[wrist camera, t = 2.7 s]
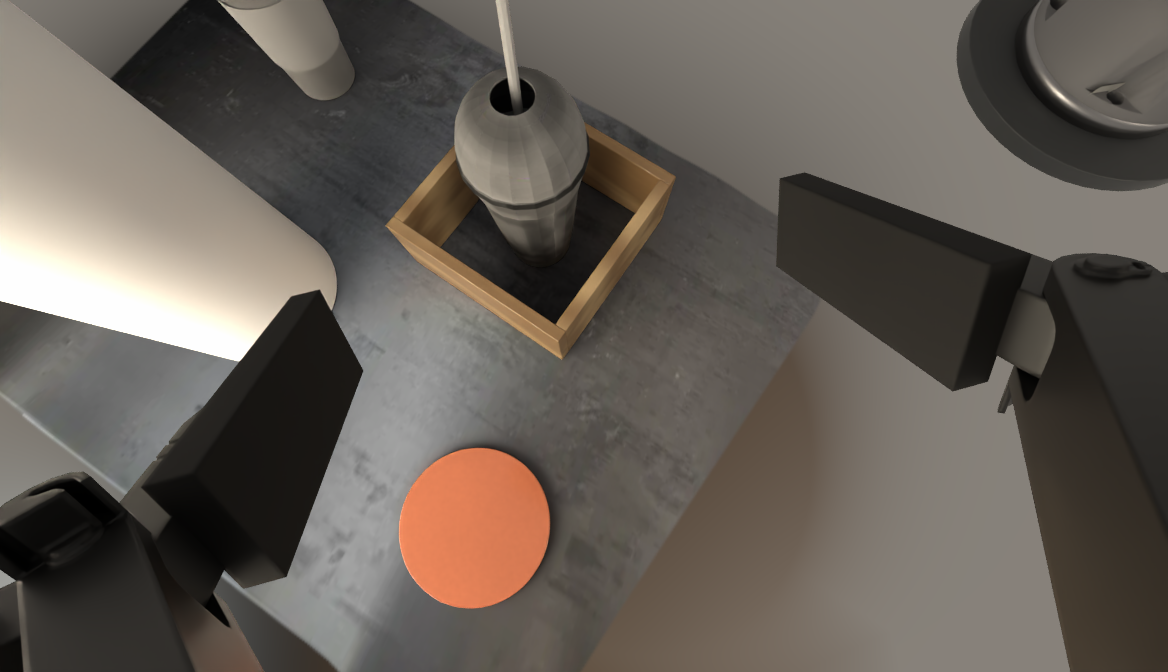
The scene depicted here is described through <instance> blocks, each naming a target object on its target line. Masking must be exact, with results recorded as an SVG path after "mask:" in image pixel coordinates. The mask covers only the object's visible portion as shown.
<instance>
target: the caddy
mask: <svg viewBox="0 0 1168 672" xmlns="http://www.w3.org/2000/svg"><path fill="white" fill-rule="evenodd" d="M584 124H585V129H586V131H587V134H588V136H589V149H590V157H589V160H588V164H587V167H586V171H585V174H584V175H583V177H582V181H583V182H585V183H587V184H588V185H590V186H592V187H593V188H595V189H596V190H598V191H600V192H601V193H603V194H605V195H606V196H608V197H609V198H611V199H613V200H614V201H616V202H618V203H619V204H621V205H622V206H624V207H626V208H627V209H629V210H631V211H632V212H634V213H635V215H634V216H633V217H632V219H631V220H630V222H629V223H628V224H627V226H626V227H625V229H624V230H623V231H622V233H621V234H620V235H619V237H618V238H617V240H616V241H615V242H614V244H613V245H612V247H611V248H610V249H609V251H608V252H607V253H606V255H605V256H604V258H603V259H602V260H601V262H600V263H599V265H598V266H597V267H596V269H595V270H594V271H593V273H592V274H591V276H590V277H589V278H588V280H587V281H586V283H585V284H584V285H583V287H582V288H581V289H580V291H579V292H578V294H577V295H576V296H575V298H574V299H573V301H572V302H571V303H570V305H569V306H568V307H567V309H566V310H565V312H564V313H563V314H562V316H561V317H560V319H559V320H558V321H557V323H556V325H555V324H554V323H552V322H551V321H549V320H548V319H546V318H545V317H543V316H542V315H540V314H539V313H537V312H536V311H534V310H533V309H531V308H530V307H528V306H527V305H525V304H524V303H522V302H521V301H519V300H518V299H516V298H515V297H513V296H512V295H510V294H509V293H507V292H506V291H504V290H503V289H501V288H500V287H498V286H497V285H495V284H494V283H492V282H491V281H489V280H488V279H486V278H485V277H483V276H482V275H480V274H479V273H477V272H476V271H474V270H473V269H471V268H470V267H468V266H467V265H465V264H464V263H462V262H461V261H459V260H458V259H456V258H455V257H453V256H452V255H450V254H449V253H447V252H446V251H444V250H443V249H442V248H440V247H441V246H442V245H443V243H444V242H445V241H446V240H447V238H448V237H449V236H450V235H451V234H452V232H453V231H454V230H455V229H456V227H457V226H458V225H459V224H460V222H461V221H462V220H463V219H464V218H465V216H466V215H467V214H468V213H469V211H470V210H471V209H472V208H473V207H474V205H475V204H476V203H477V202H478V200H479V199H480V198H479V197H478V196H477V195H475V194H474V193H473V191H472V190H471V189H470V188H469V187H468V186H467V184H466V183H465V182H464V181H463V180H462V177H461V174H460V171H459V169H458V166H457V163H456V152H455V145H454V146H453V147H452V148H451V149H450V150H449V152H448V153H447V154H446V155H445V156H444V158H443V159H442V160H441V161H440V162H439V163H438V165H437V166H436V167H435V168H434V169H433V170H432V172H431V173H430V174H429V175H428V176H427V177H426V179H425V180H424V181H423V182H422V183H421V184H420V186H419V187H418V188H417V189H416V190H415V192H414V193H413V194H412V195H411V196H410V197H409V199H408V200H407V201H406V202H405V203H404V204H403V206H402V207H401V208H400V209H399V210H398V211H397V213H396V214H395V215H394V217H392V218H391V220H390V221H389V222H388V223H387V224H386V227H387V228H388V229H389V230H390V231H391V232H392V233H393V235H394V236H395V237H396V238H397V239H398V240H399V241H400V243H401V244H402V245H403V246H404V247H405V248H406V249H407V250H408V252H409V253H410V254H411V255H412V256H413V257H414V258H415V260H416V261H417V262H419V263H420V264H422V265H423V266H425V267H426V268H428V269H429V270H430V271H432V272H433V273H435V274H436V275H438V276H439V277H441V278H442V279H444V280H445V281H447V282H448V283H450V284H451V285H453V286H454V287H456V288H457V289H458V290H460V291H461V292H463V293H464V294H466V295H467V296H469V297H470V298H472V299H473V300H475V301H476V302H478V303H479V304H481V305H482V306H484V307H485V308H486V309H488V310H489V311H491V312H492V313H494V314H495V315H497V316H498V317H500V318H501V319H503V320H504V321H506V322H507V323H509V324H510V325H512V326H513V327H515V328H516V329H517V330H519V331H520V332H522V333H523V334H525V335H526V336H528V337H529V338H531V339H532V340H534V341H535V342H537V343H538V344H540V345H541V346H543V347H544V348H545V349H547V350H548V351H550V352H551V353H553V354H554V355H556V356H557V357H559V358H560V359H563V358H564V357H565V356H566V354H567V353H568V351H569V350H570V349H571V347H572V346H573V344H574V343H575V341H576V340H577V339H578V337H579V336H580V334H581V333H582V332H583V330H584V329H585V327H586V326H587V324H588V323H589V322H590V320H591V319H592V317H593V316H594V314H595V313H596V312H597V310H598V309H599V307H600V306H601V305H602V303H603V302H604V300H605V299H606V297H607V296H608V295H609V293H610V292H611V290H612V289H613V288H614V286H615V285H616V283H617V282H618V280H619V279H620V278H621V276H622V275H623V273H624V272H625V271H626V269H627V268H628V266H629V265H630V263H631V262H632V261H633V259H634V258H635V256H636V255H637V254H638V252H639V251H640V249H641V248H642V246H643V245H644V244H645V242H646V241H647V239H648V238H649V237H650V235H651V234H652V232H653V231H654V229H655V228H656V226H657V225H658V224H659V222H660V221H661V219H662V216H663V213H664V211H665V208H666V205H667V202H668V199H669V196H670V193H671V190H672V187H673V184H674V181H675V178H676V177H675V176H674V175H672V174H671V173H669V172H667V171H666V170H664V169H662V168H661V167H659V166H657V165H656V164H654V163H652V162H650V161H649V160H647V159H645V158H644V157H642V156H640V155H639V154H637V153H635V152H634V151H632V150H630V149H629V148H627V147H625V146H624V145H622V144H620V143H619V142H617V141H615V140H614V139H612V138H610V137H608V136H607V135H605V134H603V133H602V132H600V131H598V130H597V129H595V128H593V127H592V126H590V125H588V124H587V123H585V122H584Z"/></svg>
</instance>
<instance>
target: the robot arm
mask: <svg viewBox="0 0 1168 672" xmlns="http://www.w3.org/2000/svg"><path fill="white" fill-rule="evenodd" d="M1015 51H1016V58H1017V62H1018V66H1019V68H1020V71H1021V74H1022V76H1023V78H1024V80H1025V81H1026V83H1027V85H1028V86H1029V88H1030V89H1031V90H1032V92H1033V93H1034V94H1035V95H1036V97H1037V98H1038V99H1039V100H1040V101H1041V102H1042V103H1043V104H1044V105H1045V106H1046V107H1047V108H1049V109H1050V110H1051V111H1052V112H1054V113H1055V114H1056V115H1058V116H1059V117H1061V118H1062V119H1064V120H1065V121H1067V122H1069V123H1070V124H1072V125H1074V126H1076V127H1078V128H1081V129H1083V130H1086V131H1088V132H1091V133H1094V134H1097V135H1102V136H1106V137H1111V138H1119V139H1139V138H1146V137H1151V136H1155V135H1158V134H1161V133H1163V132H1165V131H1167V130H1168V0H1040V1H1039V2H1038V3H1037V4H1036V5H1035V6H1034V7H1033V8H1032V9H1031V10H1030V11H1029V12H1028V13H1027V14H1026V15H1025V17H1024V18H1023V20H1022V22H1021V24H1020V26H1019V28H1018V31H1017V35H1016V42H1015ZM776 266H777V267H778V268H780V269H781V270H783V271H784V272H785V273H787V274H788V275H790V276H791V277H792V278H794V279H795V280H797V281H798V282H799V283H801V284H802V285H804V286H805V287H807V288H808V289H809V290H811V291H812V292H814V293H815V294H816V295H818V296H819V297H821V298H822V299H823V300H825V301H826V302H828V303H829V304H830V305H832V306H833V307H835V308H836V309H837V310H839V311H840V312H842V313H843V314H844V315H846V316H847V317H849V318H850V319H852V320H853V321H855V322H856V323H857V324H859V325H860V326H861V327H863V328H864V329H866V330H867V331H868V332H870V333H871V334H873V335H874V336H875V337H877V338H878V339H880V340H881V341H882V342H884V343H885V344H887V345H888V346H890V347H891V348H893V349H894V350H895V351H897V352H898V353H900V354H901V355H902V356H904V357H905V358H906V359H908V360H909V361H911V362H912V363H914V364H915V365H916V366H918V367H919V368H920V369H922V370H923V371H925V372H926V373H927V374H929V375H930V376H932V377H933V378H935V379H936V380H937V381H939V382H940V383H942V384H943V385H945V386H946V387H947V388H949V389H950V390H951V391H956V390H959V389H963V388H966V387H970V386H974V385H977V384H981V383H984V382H987V381H988V380H989V377H990V374H991V371H992V368H993V365H994V362H995V360H996V357H997V356H999V357H1001V358H1003V359H1004V360H1006V361H1008V362H1010V363H1011V364H1013V365H1014V367H1013V370H1012V372H1011V375H1010V377H1009V380H1008V383H1007V385H1006V388H1005V391H1004V394H1003V396H1002V399H1001V401H1000V404H999V407H998V412H999V413H1005V411H1006V409H1007V406H1009V405H1011V404H1013V406H1014V410H1015V415H1016V420H1017V424H1018V429H1019V433H1020V438H1021V443H1022V448H1023V452H1024V457H1025V462H1026V466H1027V471H1028V476H1029V480H1030V485H1031V490H1032V494H1033V499H1034V503H1035V508H1036V513H1037V518H1038V522H1039V527H1040V532H1041V536H1042V541H1043V546H1044V550H1045V555H1046V560H1047V565H1048V569H1049V574H1050V578H1051V583H1052V588H1053V592H1054V597H1055V601H1056V606H1057V611H1058V616H1059V621H1060V625H1061V630H1062V635H1063V639H1064V644H1065V649H1066V653H1067V658H1068V663H1069V667H1070V672H1168V272H1166V273H1161V272H1160V271H1158V270H1157V269H1155V268H1154V267H1153V266H1151V265H1149V264H1147V263H1146V262H1143V261H1138V260H1135V259H1131V258H1126V257H1121V256H1117V255H1109V254H1096V253H1090V254H1073V255H1067V256H1063V257H1060V258H1058V259H1056V260H1055V261H1053V262H1052V261H1049V260H1047V259H1044V258H1041V257H1038V256H1035V255H1033V254H1030V253H1027V252H1025V251H1022V250H1019V249H1016V248H1014V247H1011V246H1008V245H1005V244H1002V243H1000V242H997V241H994V240H991V239H988V238H985V237H983V236H980V235H977V234H975V233H971V232H969V231H966V230H963V229H961V228H958V227H955V226H952V225H950V224H947V223H944V222H941V221H938V220H935V219H933V218H930V217H927V216H925V215H922V214H919V213H916V212H913V211H910V210H908V209H905V208H902V207H900V206H897V205H894V204H891V203H888V202H886V201H883V200H880V199H877V198H875V197H872V196H869V195H866V194H863V193H861V192H858V191H855V190H852V189H849V188H847V187H844V186H841V185H838V184H835V183H833V182H830V181H827V180H824V179H822V178H819V177H816V176H813V175H811V174H807V173H801V174H796V175H792V176H788V177H784V178H780V186H779V212H778V236H777V261H776ZM362 373H363V369H362V367H361V365H360V364H359V362H358V360H357V358H356V356H355V354H354V352H353V350H352V349H351V347H350V345H349V343H348V341H347V339H346V337H345V335H344V334H343V332H342V330H341V328H340V326H339V324H338V322H337V321H336V319H335V317H334V315H333V313H332V311H331V309H330V307H329V306H328V304H327V302H326V300H325V298H324V296H323V294H322V292H321V291H320V289H319V290H315V291H311V292H307V293H303V294H298V295H294V296H291V297H290V298H289V300H288V301H287V302H286V303H285V305H284V306H283V307H282V308H281V310H280V311H279V312H278V314H277V315H276V316H275V317H274V319H273V320H272V321H271V322H270V324H269V325H268V326H267V327H266V329H265V330H264V331H263V333H262V334H261V335H260V336H259V338H258V339H257V340H256V341H255V343H254V344H253V345H252V346H251V348H250V349H249V350H248V352H247V353H246V354H245V355H244V357H243V358H242V359H241V360H240V362H239V363H238V364H237V365H236V367H235V368H234V369H233V371H232V372H231V373H230V374H229V376H228V377H227V378H226V379H225V381H224V382H223V383H222V384H221V386H220V387H219V388H218V390H217V391H216V392H215V393H214V395H213V396H212V397H211V398H210V400H209V401H208V402H207V404H206V405H205V406H204V407H203V408H202V409H201V410H200V411H198V412H197V413H196V414H195V415H193V416H192V417H191V418H190V419H188V420H187V421H186V422H185V423H184V424H183V425H182V426H181V427H180V428H179V430H178V431H177V432H176V433H175V435H174V436H173V437H172V438H171V440H170V441H169V445H166V446H165V447H164V448H163V449H162V451H161V452H160V453H159V454H158V456H157V457H156V458H157V460H156V461H153V462H152V463H151V464H150V466H149V467H148V468H147V469H146V471H145V472H144V473H143V474H142V475H141V477H140V478H139V479H138V480H137V482H136V483H135V484H134V485H133V487H132V488H131V489H130V490H129V492H128V493H127V494H126V495H125V496H124V498H123V499H122V500H121V501H120V503H118V502H117V501H116V500H115V499H114V498H113V497H112V496H111V495H110V494H109V493H108V492H107V491H106V490H105V489H103V488H102V487H101V486H100V485H99V484H98V483H97V482H96V481H95V480H94V479H93V478H92V477H91V476H89V475H88V474H86V473H85V472H72V473H67V474H64V475H61V476H58V477H55V478H51V479H49V480H47V481H45V482H43V483H41V484H39V485H37V486H34V487H32V488H30V489H28V490H27V491H25V492H23V493H21V494H20V495H18V496H16V497H15V498H13V499H11V500H10V501H8V502H6V503H5V504H4V505H2V506H1V507H0V570H2V571H3V572H4V573H6V574H7V575H9V576H10V577H12V578H13V579H15V580H16V581H15V582H13V583H11V584H9V585H7V586H5V587H2V588H0V672H264V671H263V668H262V667H261V665H260V663H259V661H258V660H257V658H256V656H255V654H254V652H253V650H252V649H251V647H250V645H249V643H248V641H247V640H246V638H245V636H244V634H243V632H242V631H241V629H240V627H239V625H238V624H237V621H236V620H235V618H234V616H233V614H232V612H231V611H230V609H229V607H228V605H227V603H226V602H225V601H224V600H223V599H222V598H221V597H220V596H219V595H218V594H217V593H215V591H214V589H215V587H216V585H217V583H218V581H219V579H220V577H221V575H222V573H223V571H224V570H225V571H226V572H227V573H228V574H229V575H230V576H231V577H232V578H233V579H234V580H235V581H236V582H237V583H238V584H239V585H240V586H241V587H242V588H243V589H245V588H248V587H252V586H255V585H259V584H262V583H266V582H270V581H273V580H277V579H280V578H284V577H287V574H288V571H289V569H290V566H291V563H292V561H293V558H294V555H295V553H296V550H297V547H298V544H299V542H300V539H301V536H302V534H303V531H304V528H305V526H306V523H307V520H308V518H309V515H310V512H311V510H312V507H313V504H314V502H315V499H316V496H317V494H318V491H319V488H320V486H321V483H322V480H323V477H324V475H325V472H326V469H327V467H328V464H329V461H330V459H331V456H332V453H333V451H334V448H335V445H336V443H337V440H338V437H339V435H340V432H341V429H342V427H343V424H344V421H345V418H346V416H347V413H348V410H349V408H350V405H351V402H352V400H353V397H354V394H355V392H356V389H357V386H358V384H359V381H360V378H361V376H362Z"/></svg>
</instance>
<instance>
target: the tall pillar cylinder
mask: <svg viewBox="0 0 1168 672" xmlns="http://www.w3.org/2000/svg"><path fill="white" fill-rule="evenodd" d="M319 289H320V291H321V292H322V294H323V296H324V298H325V300H326V302H327V304H328V306H329V307H330V309H331V311H332V308H333V306H334V302H335V298H336V292H337V278H336V272H335V268H334V265H333V263H332V260H331V258H330V256H329V255H328V253H327V252H326V250H325V249H324V248H323V247H322V246H321V245H320V244H319V243H318V242H317V241H316V240H315V239H313V238H312V237H311V236H310V235H308V234H307V233H306V232H304V231H303V230H302V229H301V228H299V227H298V226H297V225H296V224H294V223H293V222H292V221H290V220H289V219H288V218H287V217H285V216H284V215H283V214H281V213H280V212H279V211H278V210H276V209H275V208H274V207H273V206H271V205H270V204H269V203H267V202H266V201H265V200H264V199H262V198H261V197H260V196H258V195H257V194H256V193H255V192H253V191H252V190H251V189H250V188H248V187H247V186H246V185H244V184H243V183H242V182H241V181H239V180H238V179H237V178H235V177H234V176H233V175H232V174H230V173H229V172H228V171H227V170H225V169H224V168H223V167H221V166H220V165H219V164H218V163H216V162H215V161H214V160H212V159H211V158H210V157H209V156H207V155H206V154H205V153H204V152H202V151H201V150H200V149H198V148H197V147H196V146H195V145H193V144H192V143H191V142H189V141H188V140H187V139H186V138H184V137H183V136H182V135H180V134H179V133H178V132H177V131H175V130H174V129H173V128H172V127H170V126H169V125H168V124H166V123H165V122H164V121H163V120H161V119H160V118H159V117H157V116H156V115H155V114H154V113H152V112H151V111H150V110H149V109H147V108H146V107H145V106H143V105H142V104H141V103H140V102H138V101H137V100H136V99H134V98H133V97H132V96H131V95H129V94H128V93H127V92H126V91H124V90H123V89H122V88H120V87H119V86H118V85H117V84H115V83H114V82H113V81H111V80H110V79H109V78H108V77H106V76H105V75H104V74H103V73H101V72H100V71H98V70H97V69H96V68H95V67H94V66H92V65H91V64H90V63H88V62H87V61H86V60H85V59H83V58H82V57H81V56H79V55H78V54H77V53H76V52H74V51H73V50H72V49H71V48H69V47H68V46H67V45H65V44H64V43H63V42H62V41H60V40H59V39H58V38H56V37H55V36H54V35H53V34H51V33H50V32H48V30H46V29H45V28H44V27H42V26H41V25H40V24H39V23H37V22H36V21H34V20H33V19H32V18H31V17H30V16H28V15H27V14H26V13H24V12H23V11H22V10H21V9H19V8H18V7H17V6H15V5H14V4H13V3H12V2H10V1H9V0H0V301H4V302H8V303H12V304H16V305H20V306H24V307H27V308H31V309H35V310H39V311H43V312H47V313H51V314H55V315H59V316H63V317H67V318H71V319H74V320H78V321H82V322H86V323H90V324H94V325H98V326H102V327H106V328H110V329H114V330H118V331H121V332H125V333H129V334H133V335H137V336H141V337H145V338H149V339H153V340H157V341H161V342H165V343H168V344H172V345H176V346H180V347H184V348H188V349H192V350H196V351H200V352H204V353H208V354H212V355H216V356H219V357H223V358H227V359H231V360H235V361H240V360H241V359H242V358H243V357H244V355H245V354H246V353H247V352H248V350H249V349H250V348H251V346H252V345H253V344H254V343H255V341H256V340H257V339H258V338H259V336H260V335H261V334H262V333H263V331H264V330H265V329H266V327H267V326H268V325H269V324H270V322H271V321H272V320H273V319H274V317H275V316H276V315H277V314H278V312H279V311H280V310H281V308H282V307H283V306H284V305H285V303H286V302H287V301H288V300H289V298H290V297H291V296H294V295H298V294H303V293H307V292H311V291H315V290H319Z"/></svg>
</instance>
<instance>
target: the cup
mask: <svg viewBox="0 0 1168 672" xmlns="http://www.w3.org/2000/svg"><path fill="white" fill-rule="evenodd" d="M218 1H219V2H220V3H221V5H222V6H223V7H224V8H225V9H226V10H227V11H228V12H229V13H230V14H231V15H232V17H233V18H234V19H235V20H236V21H237V22H238V23H239V24H240V25H241V26H242V27H243V29H244V30H245V31H246V32H247V33H248V34H249V35H250V36H251V37H252V38H253V39H254V40H255V42H256V43H257V44H258V45H259V46H260V47H261V48H262V49H263V50H264V51H265V52H266V54H267V55H268V56H269V57H270V58H271V59H272V60H273V61H274V62H275V63H276V64H277V65H279V66H280V67H282V68H283V69H284V71H285V72H286V73H287V74H288V75H289V76H290V77H291V78H292V79H293V80H294V82H295V83H296V84H297V85H298V86H299V87H300V88H301V89H302V90H303V91H304V93H305V94H307V95H308V96H309V97H311V98H313V99H317V100H331V99H335V98H337V97H340V96H341V95H343V94H344V93H346V92H347V91H348V90H349V89H350V87H351V86H352V84H353V82H354V78H355V71H354V68H353V65H352V63H351V61H350V59H349V57H348V55H347V53H346V51H345V49H344V47H343V45H342V43H341V41H340V39H339V34H338V31H337V29H336V27H335V24H334V22H333V20H332V18H331V16H330V14H329V12H328V10H327V8H326V6H325V4H324V2H323V0H218Z"/></svg>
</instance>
